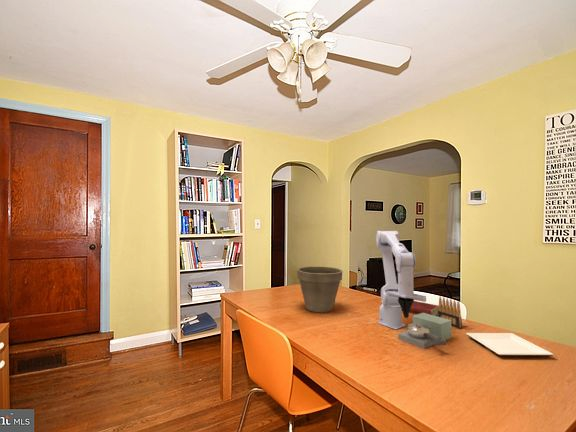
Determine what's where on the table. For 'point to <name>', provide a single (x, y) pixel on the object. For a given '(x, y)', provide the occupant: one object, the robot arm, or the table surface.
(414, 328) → the grey t-handle
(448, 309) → the ammunition clip
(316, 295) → the plant pot
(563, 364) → the table surface
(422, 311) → the hardcover book
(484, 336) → the plate
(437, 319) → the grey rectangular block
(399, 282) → the robot arm
